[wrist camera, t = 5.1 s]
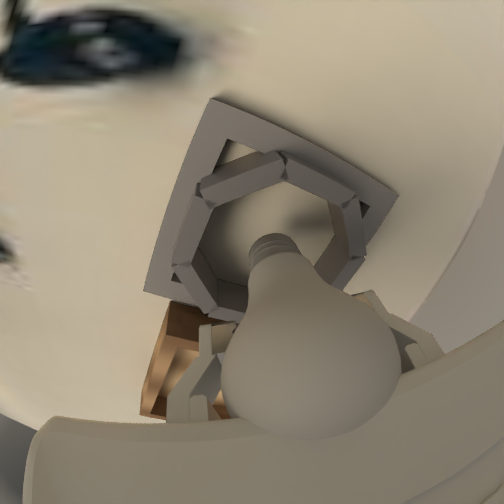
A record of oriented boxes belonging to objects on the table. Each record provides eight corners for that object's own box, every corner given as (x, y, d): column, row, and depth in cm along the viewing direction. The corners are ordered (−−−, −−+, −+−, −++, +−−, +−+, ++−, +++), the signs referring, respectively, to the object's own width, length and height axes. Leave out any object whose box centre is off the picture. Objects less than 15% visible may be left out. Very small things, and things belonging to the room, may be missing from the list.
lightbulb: (273, 300, 17) (317, 472, 9) (191, 257, 15) (189, 477, 6) (344, 234, 15) (448, 408, 6) (265, 168, 12) (381, 409, 3)
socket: (300, 321, 21) (308, 346, 19) (145, 282, 17) (138, 309, 15) (392, 190, 15) (414, 208, 13) (210, 97, 11) (209, 99, 9)
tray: (264, 408, 30) (268, 429, 28) (141, 391, 25) (139, 414, 23) (339, 337, 23) (350, 363, 21) (170, 301, 18) (165, 334, 16)
